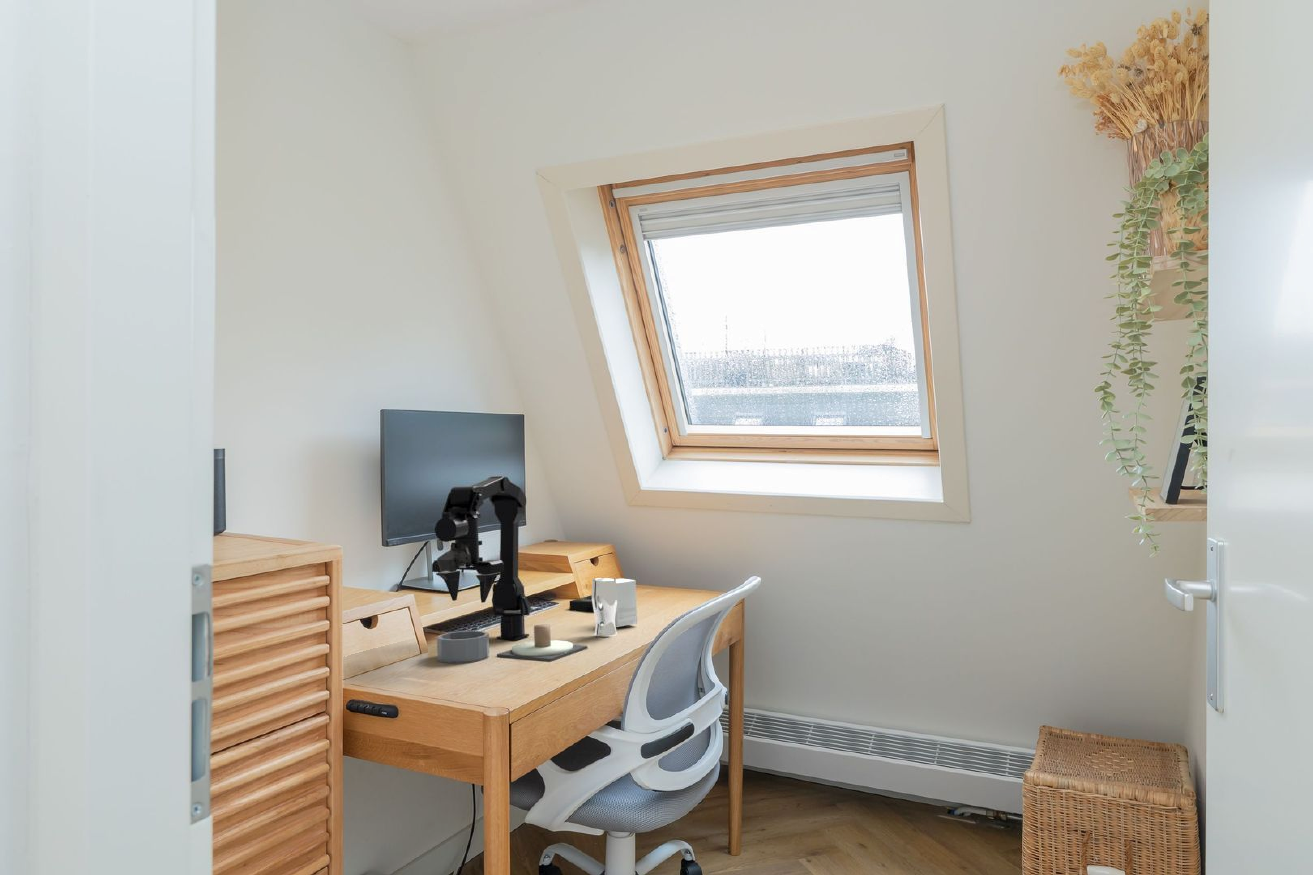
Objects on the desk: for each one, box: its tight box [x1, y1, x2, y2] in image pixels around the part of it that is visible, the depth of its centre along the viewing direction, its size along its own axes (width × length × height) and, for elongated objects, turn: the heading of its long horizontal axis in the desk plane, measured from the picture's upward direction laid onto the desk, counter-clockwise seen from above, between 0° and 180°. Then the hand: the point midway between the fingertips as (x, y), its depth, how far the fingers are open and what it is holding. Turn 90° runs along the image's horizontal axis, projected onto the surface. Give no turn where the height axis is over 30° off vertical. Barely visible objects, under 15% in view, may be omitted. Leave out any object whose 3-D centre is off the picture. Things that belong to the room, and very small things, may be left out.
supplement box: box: [615, 578, 638, 628], centre depth 262 cm, size 7×7×13 cm
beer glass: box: [591, 577, 618, 638], centre depth 246 cm, size 7×7×15 cm
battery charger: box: [568, 595, 594, 613], centre depth 290 cm, size 13×10×4 cm
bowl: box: [436, 630, 490, 664], centre depth 221 cm, size 12×12×6 cm
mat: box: [496, 644, 588, 662], centre depth 225 cm, size 16×16×1 cm
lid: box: [511, 623, 574, 656], centre depth 225 cm, size 15×15×6 cm
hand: (468, 601), depth 222 cm, fingers open, 9 cm apart
